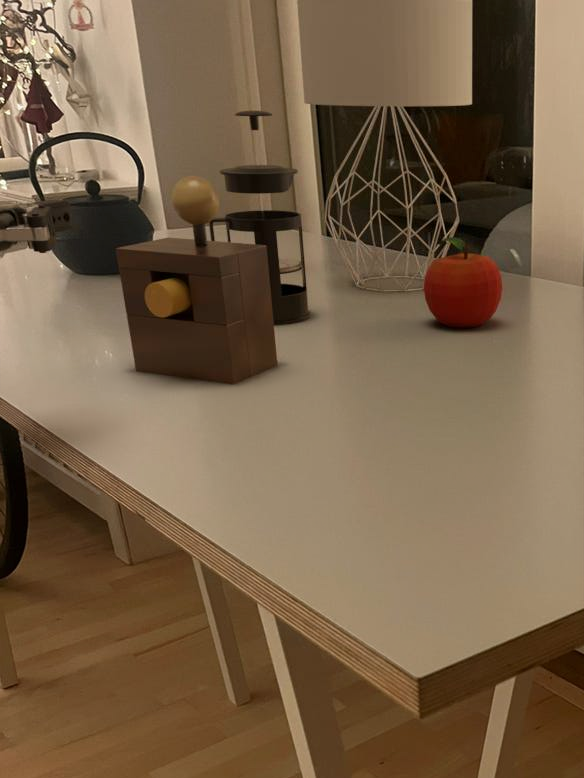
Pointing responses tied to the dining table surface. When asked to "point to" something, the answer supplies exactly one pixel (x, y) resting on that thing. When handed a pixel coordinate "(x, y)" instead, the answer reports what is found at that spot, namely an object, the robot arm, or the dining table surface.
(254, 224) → the french press
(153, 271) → the switch box
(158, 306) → the button
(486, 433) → the dining table surface
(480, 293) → the fruit
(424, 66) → the table lamp
